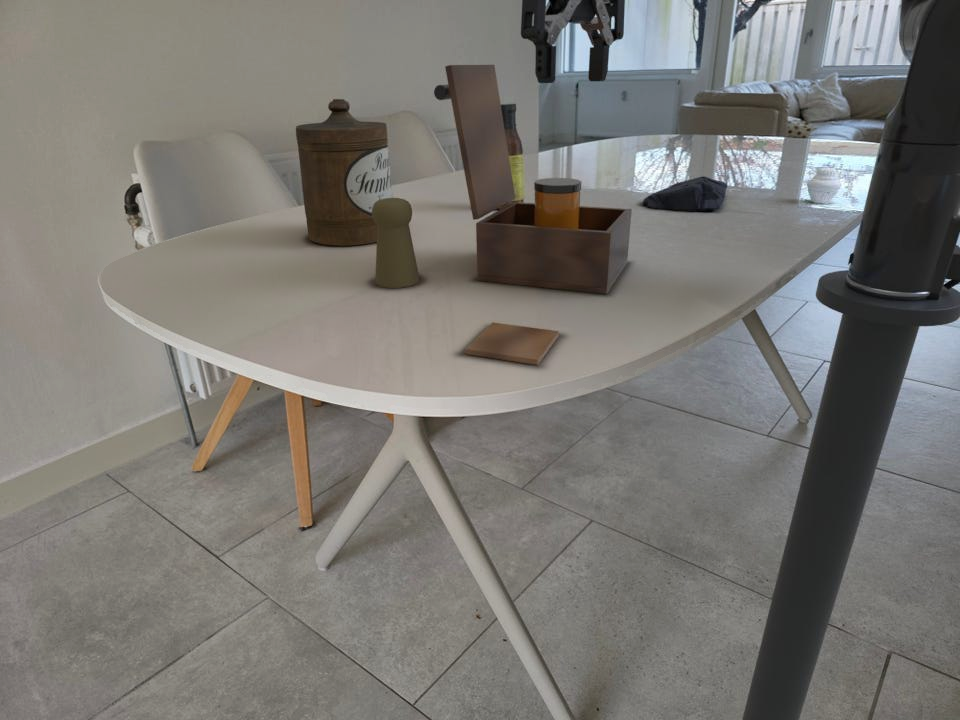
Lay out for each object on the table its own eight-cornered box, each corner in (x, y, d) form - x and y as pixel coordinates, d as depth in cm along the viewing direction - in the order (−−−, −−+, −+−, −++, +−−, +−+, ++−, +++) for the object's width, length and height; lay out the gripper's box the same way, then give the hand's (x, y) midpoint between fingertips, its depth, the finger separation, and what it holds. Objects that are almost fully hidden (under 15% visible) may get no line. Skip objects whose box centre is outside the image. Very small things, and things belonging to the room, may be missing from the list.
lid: (494, 64, 86) (462, 72, 88) (450, 64, 74) (414, 73, 76) (515, 198, 92) (485, 202, 94) (478, 219, 80) (444, 223, 82)
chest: (627, 263, 90) (631, 208, 87) (606, 294, 78) (611, 232, 74) (512, 252, 96) (513, 201, 93) (477, 280, 84) (475, 223, 81)
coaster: (559, 336, 66) (559, 331, 66) (537, 365, 60) (537, 359, 59) (492, 327, 69) (492, 322, 68) (465, 354, 62) (465, 348, 62)
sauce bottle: (528, 206, 128) (530, 102, 119) (516, 212, 123) (517, 104, 114) (500, 204, 131) (499, 102, 122) (486, 209, 126) (485, 103, 117)
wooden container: (379, 247, 100) (366, 100, 91) (294, 245, 103) (272, 101, 93) (405, 226, 113) (396, 96, 104) (329, 224, 116) (314, 97, 106)
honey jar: (582, 262, 88) (586, 178, 83) (570, 274, 83) (575, 186, 78) (540, 258, 90) (542, 176, 85) (526, 270, 85) (528, 184, 80)
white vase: (819, 198, 130) (826, 163, 127) (844, 203, 125) (852, 167, 122) (796, 200, 128) (803, 165, 125) (820, 206, 123) (828, 169, 120)
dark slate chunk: (737, 194, 135) (740, 172, 133) (716, 214, 118) (720, 188, 116) (666, 189, 142) (669, 168, 140) (637, 207, 125) (640, 183, 123)
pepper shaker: (416, 272, 88) (411, 193, 83) (422, 285, 82) (417, 201, 78) (373, 276, 86) (366, 196, 82) (376, 289, 81) (368, 204, 76)
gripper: (556, -103, 59) (551, 84, 66) (650, -85, 67) (637, 80, 74) (505, -88, 64) (505, 84, 71) (597, -72, 72) (589, 80, 79)
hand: (572, 82), depth 72 cm, fingers open, 8 cm apart
